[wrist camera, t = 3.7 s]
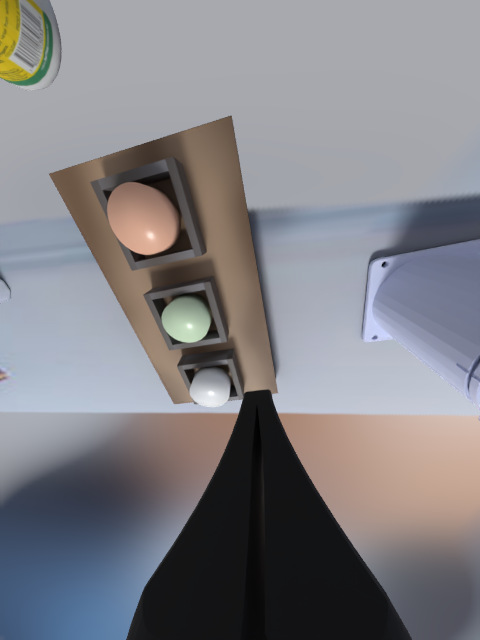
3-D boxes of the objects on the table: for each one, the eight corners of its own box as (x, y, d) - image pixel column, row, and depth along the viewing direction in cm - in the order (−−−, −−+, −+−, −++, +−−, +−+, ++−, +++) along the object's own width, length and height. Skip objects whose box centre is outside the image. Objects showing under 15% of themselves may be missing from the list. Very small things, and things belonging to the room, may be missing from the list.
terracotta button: (168, 179, 11) (156, 173, 10) (188, 244, 13) (180, 247, 11) (113, 195, 11) (94, 191, 10) (139, 255, 13) (126, 260, 12)
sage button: (205, 289, 15) (200, 297, 13) (217, 328, 16) (214, 339, 15) (162, 297, 15) (153, 305, 14) (178, 335, 17) (172, 345, 15)
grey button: (226, 363, 17) (223, 376, 16) (234, 391, 19) (233, 405, 17) (189, 368, 18) (183, 381, 16) (200, 395, 19) (196, 408, 18)
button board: (234, 130, 12) (228, 99, 9) (275, 379, 22) (279, 405, 19) (74, 180, 14) (23, 168, 11) (179, 390, 24) (169, 416, 21)
